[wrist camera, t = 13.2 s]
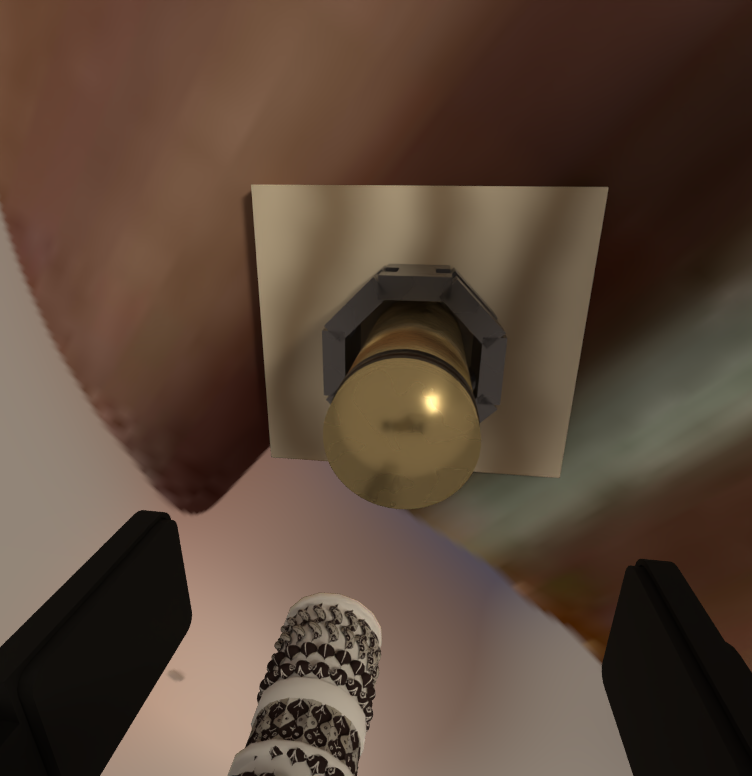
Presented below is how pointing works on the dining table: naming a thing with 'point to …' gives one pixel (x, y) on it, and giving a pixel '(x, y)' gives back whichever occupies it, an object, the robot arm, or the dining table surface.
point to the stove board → (476, 265)
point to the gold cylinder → (406, 411)
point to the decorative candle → (315, 692)
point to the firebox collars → (420, 286)
